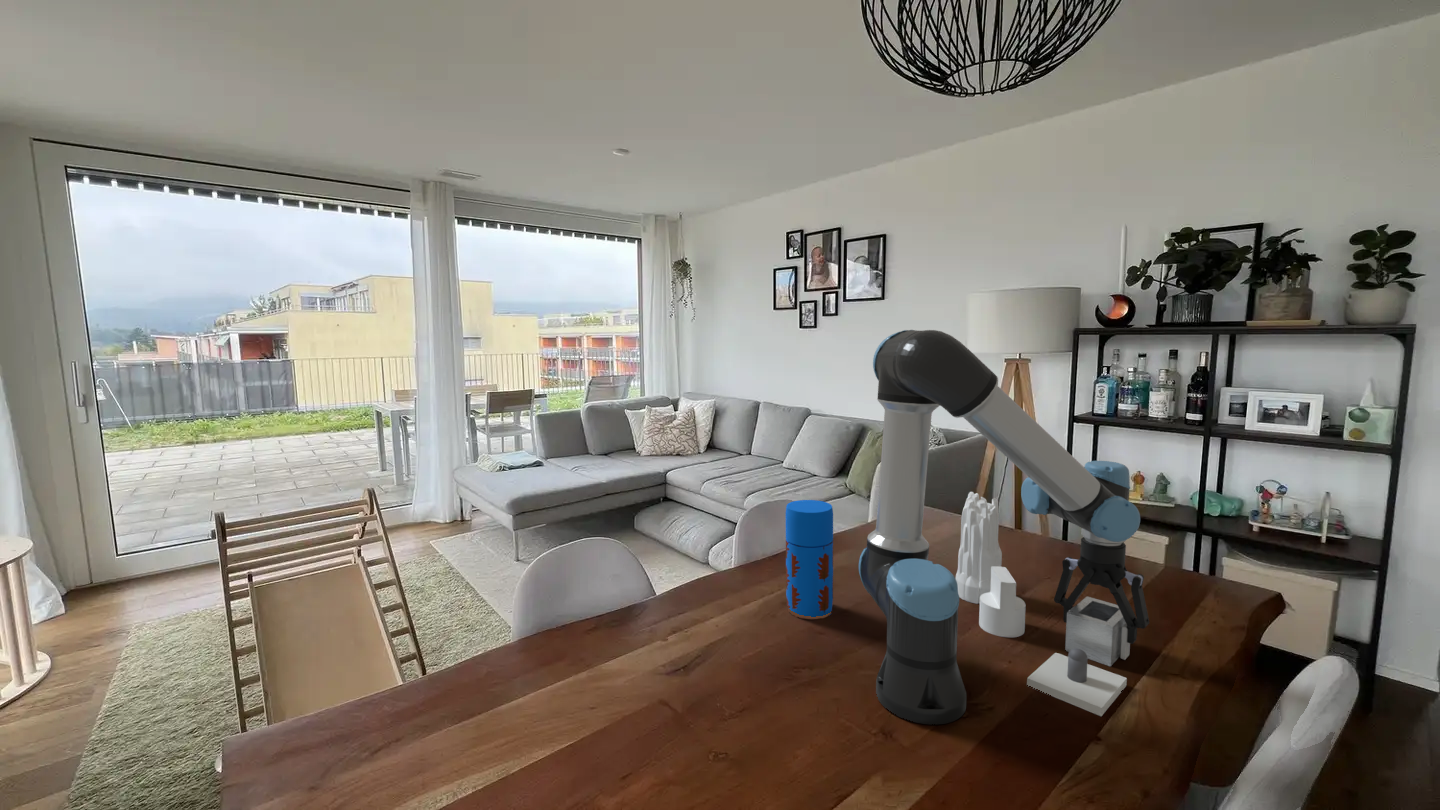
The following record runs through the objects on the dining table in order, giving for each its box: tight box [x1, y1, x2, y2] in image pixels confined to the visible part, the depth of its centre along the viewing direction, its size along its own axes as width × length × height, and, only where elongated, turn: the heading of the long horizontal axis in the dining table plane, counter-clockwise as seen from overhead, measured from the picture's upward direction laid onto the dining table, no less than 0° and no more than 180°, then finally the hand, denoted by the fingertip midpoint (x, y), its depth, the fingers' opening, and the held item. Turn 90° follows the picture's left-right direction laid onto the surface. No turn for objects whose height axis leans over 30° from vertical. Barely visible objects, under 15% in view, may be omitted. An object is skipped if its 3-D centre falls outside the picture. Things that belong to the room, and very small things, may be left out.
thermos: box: [785, 499, 834, 617], centre depth 140 cm, size 11×11×25 cm
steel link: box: [1064, 596, 1126, 667], centre depth 121 cm, size 11×8×8 cm
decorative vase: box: [955, 491, 1003, 605], centre depth 146 cm, size 11×11×25 cm
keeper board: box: [1026, 648, 1128, 717], centre depth 109 cm, size 13×12×7 cm
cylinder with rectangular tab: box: [978, 566, 1026, 638], centre depth 131 cm, size 9×9×12 cm
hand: (1097, 647), depth 122 cm, fingers open, 9 cm apart
